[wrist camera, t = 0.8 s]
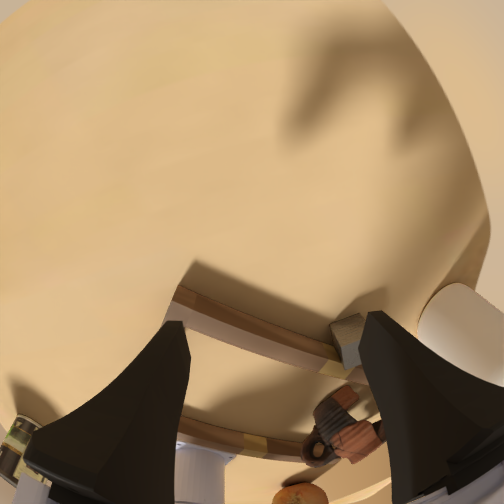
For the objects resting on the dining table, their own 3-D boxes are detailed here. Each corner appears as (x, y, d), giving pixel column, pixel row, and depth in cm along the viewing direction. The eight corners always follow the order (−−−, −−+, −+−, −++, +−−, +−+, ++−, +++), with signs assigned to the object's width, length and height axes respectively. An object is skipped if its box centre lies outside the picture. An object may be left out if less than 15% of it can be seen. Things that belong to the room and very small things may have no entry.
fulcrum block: (362, 336, 23) (375, 358, 20) (334, 347, 23) (344, 370, 20) (359, 313, 22) (374, 334, 19) (329, 324, 22) (341, 347, 19)
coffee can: (17, 424, 29) (-7, 472, 16) (16, 406, 27) (-14, 461, 14) (59, 453, 32) (40, 504, 19) (64, 440, 29) (41, 500, 16)
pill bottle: (426, 356, 25) (492, 449, 11) (404, 318, 23) (494, 432, 9) (473, 310, 24) (551, 386, 9) (460, 265, 21) (566, 345, 7)
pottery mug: (366, 362, 25) (416, 416, 19) (366, 380, 32) (403, 421, 26) (273, 432, 24) (316, 491, 18) (294, 434, 30) (328, 478, 25)
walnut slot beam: (330, 451, 30) (334, 464, 28) (131, 405, 25) (126, 420, 23) (415, 371, 26) (424, 384, 23) (178, 284, 20) (171, 300, 18)
